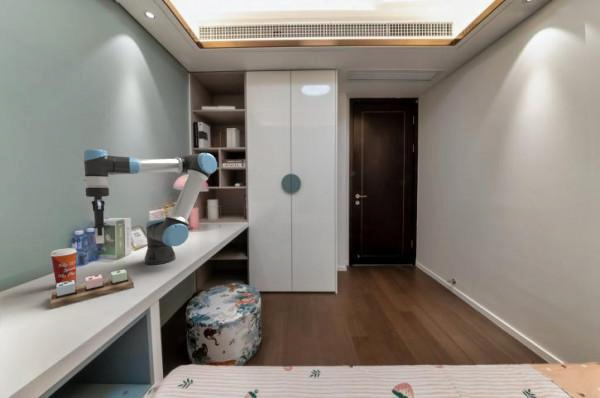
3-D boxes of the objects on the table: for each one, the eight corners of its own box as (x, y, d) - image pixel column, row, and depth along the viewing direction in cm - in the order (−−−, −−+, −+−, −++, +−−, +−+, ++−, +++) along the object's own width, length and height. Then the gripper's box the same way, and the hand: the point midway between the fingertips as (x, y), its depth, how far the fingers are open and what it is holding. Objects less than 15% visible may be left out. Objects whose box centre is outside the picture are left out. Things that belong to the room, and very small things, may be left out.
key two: (101, 281, 100) (100, 273, 100) (102, 285, 96) (102, 276, 96) (85, 285, 97) (85, 276, 96) (86, 289, 93) (86, 280, 93)
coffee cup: (62, 289, 100) (59, 253, 99) (47, 287, 101) (44, 252, 100) (84, 281, 108) (82, 247, 107) (69, 279, 110) (67, 247, 109)
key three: (74, 287, 94) (74, 279, 94) (75, 291, 91) (74, 282, 91) (57, 291, 91) (56, 282, 91) (57, 296, 88) (56, 286, 87)
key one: (125, 276, 105) (124, 268, 105) (127, 279, 102) (126, 271, 102) (111, 279, 102) (110, 271, 102) (112, 283, 99) (112, 274, 98)
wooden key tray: (128, 279, 109) (128, 275, 109) (133, 287, 101) (133, 282, 101) (52, 297, 93) (51, 292, 93) (51, 308, 84) (50, 303, 84)
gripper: (84, 187, 104) (87, 241, 105) (86, 187, 94) (89, 247, 96) (107, 186, 109) (109, 239, 110) (110, 187, 99) (113, 244, 101)
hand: (100, 242), depth 103 cm, fingers closed
